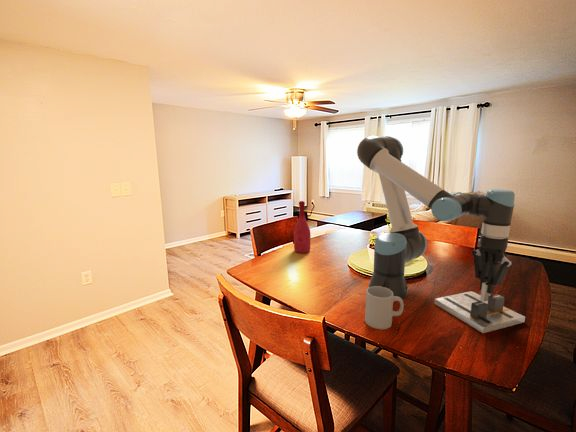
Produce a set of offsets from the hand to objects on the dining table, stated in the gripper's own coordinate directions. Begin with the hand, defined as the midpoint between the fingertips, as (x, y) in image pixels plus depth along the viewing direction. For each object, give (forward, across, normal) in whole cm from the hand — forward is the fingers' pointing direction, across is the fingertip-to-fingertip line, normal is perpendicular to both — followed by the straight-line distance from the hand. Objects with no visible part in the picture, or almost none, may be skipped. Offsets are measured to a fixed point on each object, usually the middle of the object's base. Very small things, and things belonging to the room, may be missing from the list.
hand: (484, 299), depth 99 cm
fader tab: (+1, -4, 0) cm, 4 cm away
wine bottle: (+5, +82, +39) cm, 91 cm away
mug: (+4, +4, +38) cm, 39 cm away
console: (+4, -1, +4) cm, 6 cm away
